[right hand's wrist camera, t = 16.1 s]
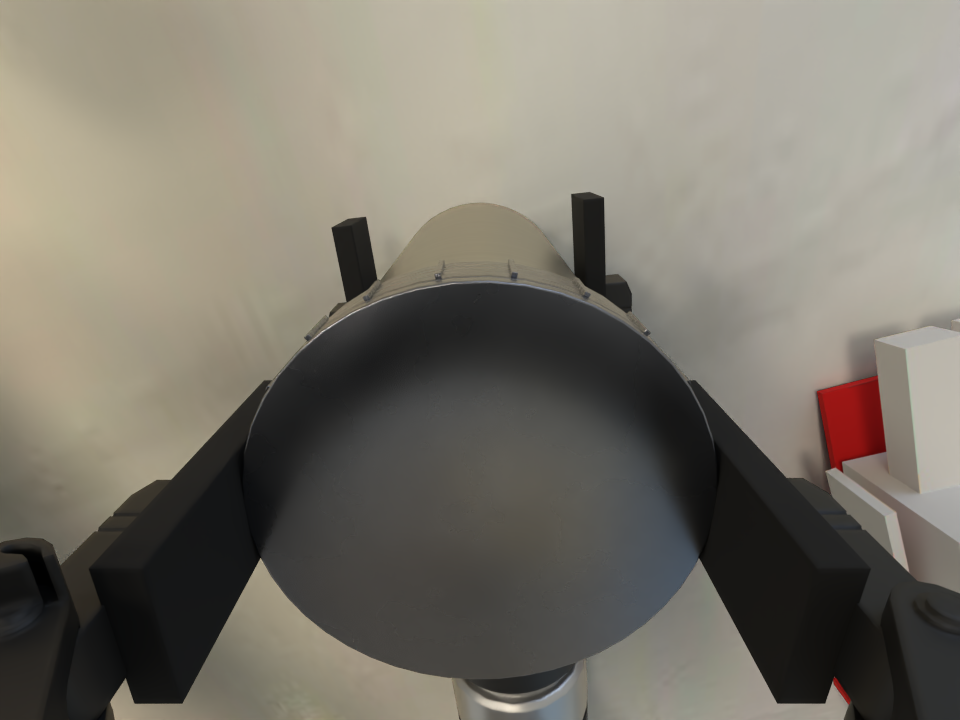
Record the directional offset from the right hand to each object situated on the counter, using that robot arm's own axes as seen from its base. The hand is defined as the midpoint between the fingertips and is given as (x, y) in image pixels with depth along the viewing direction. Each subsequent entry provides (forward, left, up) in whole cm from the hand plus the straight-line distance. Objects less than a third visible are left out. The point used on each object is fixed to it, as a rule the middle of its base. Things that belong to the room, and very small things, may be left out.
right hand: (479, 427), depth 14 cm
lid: (0, 0, +3) cm, 3 cm away
